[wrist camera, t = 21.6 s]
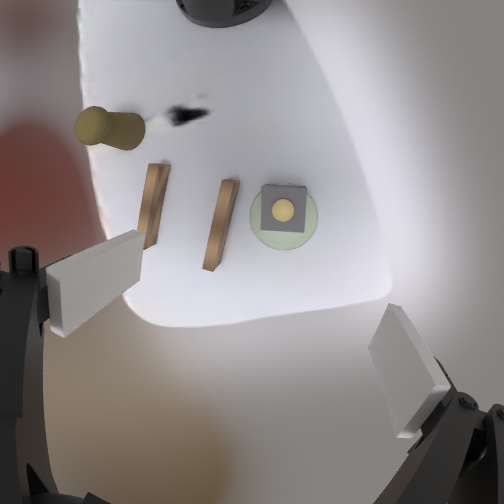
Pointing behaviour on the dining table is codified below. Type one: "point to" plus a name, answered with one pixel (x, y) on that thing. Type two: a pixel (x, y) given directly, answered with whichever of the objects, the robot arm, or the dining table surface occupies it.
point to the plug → (283, 208)
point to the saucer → (280, 238)
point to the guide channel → (153, 208)
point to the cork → (109, 128)
